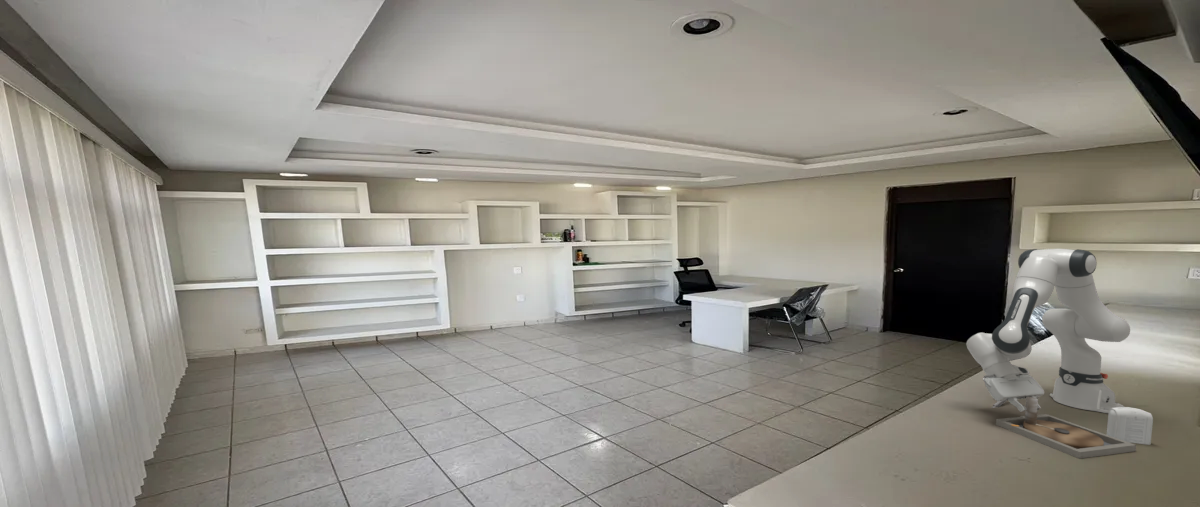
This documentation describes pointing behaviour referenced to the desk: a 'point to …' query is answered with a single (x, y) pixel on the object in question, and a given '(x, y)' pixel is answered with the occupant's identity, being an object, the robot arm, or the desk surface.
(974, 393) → the desk surface
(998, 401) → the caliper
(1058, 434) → the dial
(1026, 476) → the desk surface
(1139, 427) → the photo printer
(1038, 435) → the dial base
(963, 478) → the desk surface
